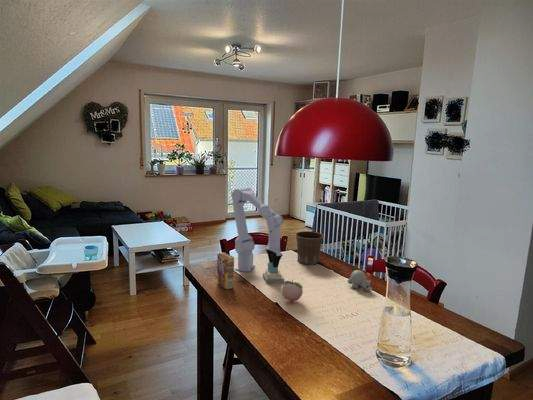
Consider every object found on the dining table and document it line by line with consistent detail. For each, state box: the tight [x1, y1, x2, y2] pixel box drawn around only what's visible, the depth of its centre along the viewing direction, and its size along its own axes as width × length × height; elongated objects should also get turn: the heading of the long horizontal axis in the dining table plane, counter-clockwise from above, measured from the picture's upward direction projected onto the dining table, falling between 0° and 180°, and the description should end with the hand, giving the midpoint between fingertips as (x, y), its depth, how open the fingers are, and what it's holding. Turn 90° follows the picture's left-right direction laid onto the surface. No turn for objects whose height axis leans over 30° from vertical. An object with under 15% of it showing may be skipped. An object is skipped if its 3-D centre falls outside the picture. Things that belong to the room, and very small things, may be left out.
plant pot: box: [295, 230, 325, 266], centre depth 198 cm, size 16×16×16 cm
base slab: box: [262, 272, 285, 285], centre depth 172 cm, size 9×9×2 cm
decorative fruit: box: [281, 279, 304, 303], centre depth 148 cm, size 9×8×10 cm
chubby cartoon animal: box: [347, 269, 373, 293], centre depth 163 cm, size 7×12×8 cm, turn 37°
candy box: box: [216, 252, 235, 290], centre depth 163 cm, size 9×4×15 cm, turn 39°
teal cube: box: [267, 262, 279, 273], centre depth 172 cm, size 4×4×4 cm
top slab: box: [264, 268, 282, 279], centre depth 172 cm, size 7×7×2 cm
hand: (273, 264), depth 171 cm, fingers open, 6 cm apart
